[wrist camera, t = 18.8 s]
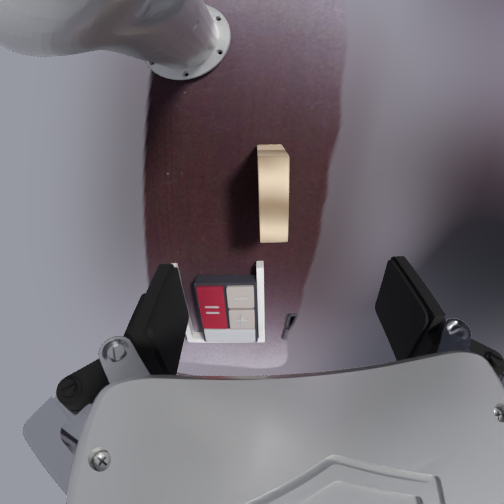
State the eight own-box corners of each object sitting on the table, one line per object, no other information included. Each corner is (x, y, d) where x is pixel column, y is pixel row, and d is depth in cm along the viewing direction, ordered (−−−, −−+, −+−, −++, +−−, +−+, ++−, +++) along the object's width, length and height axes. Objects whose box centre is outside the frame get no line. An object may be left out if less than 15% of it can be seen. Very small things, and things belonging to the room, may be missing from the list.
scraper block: (257, 144, 37) (258, 157, 29) (281, 144, 37) (289, 156, 29) (259, 214, 43) (260, 242, 35) (281, 213, 43) (287, 241, 35)
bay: (170, 263, 47) (168, 269, 46) (263, 260, 47) (263, 267, 45) (189, 335, 57) (188, 342, 56) (264, 335, 57) (264, 342, 55)
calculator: (256, 285, 46) (257, 345, 53) (256, 271, 50) (257, 330, 57) (192, 286, 46) (204, 345, 53) (196, 272, 50) (206, 330, 57)
